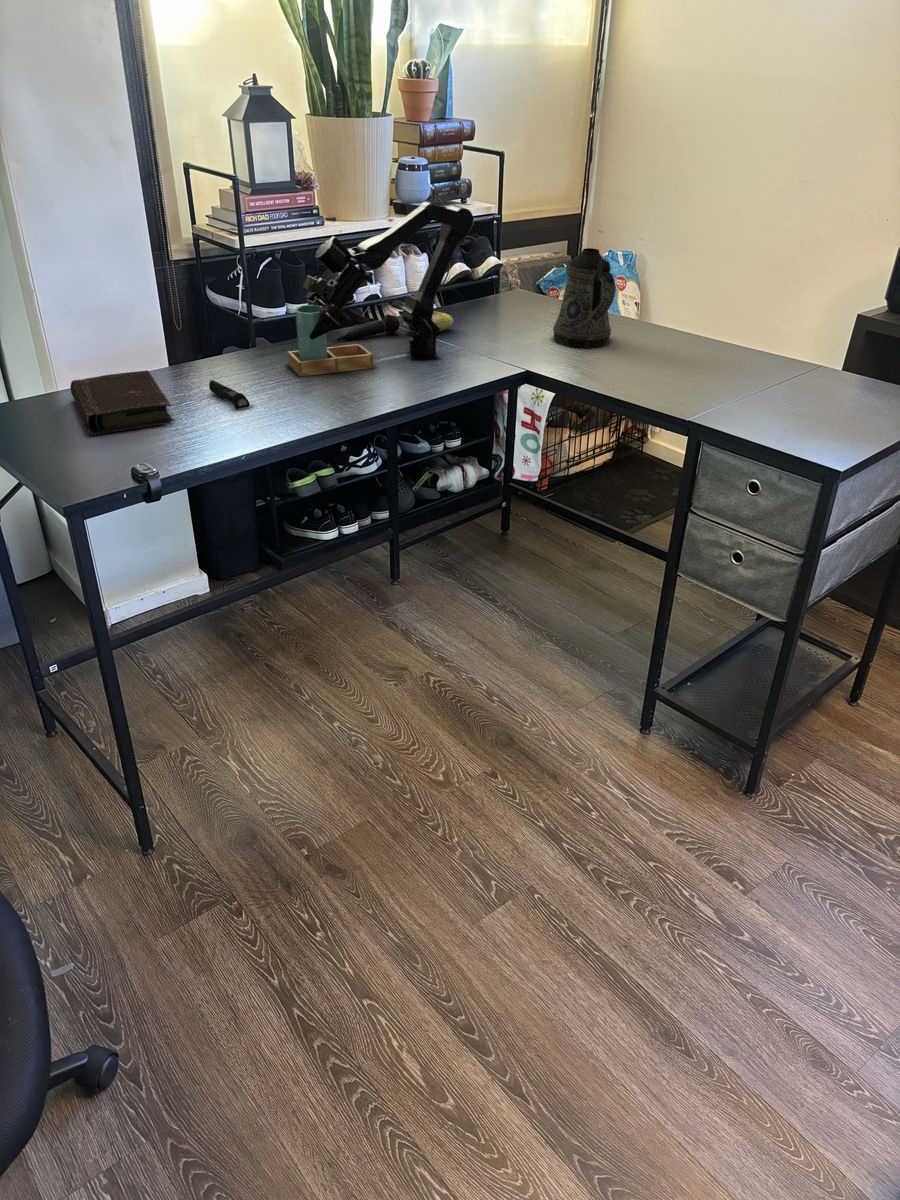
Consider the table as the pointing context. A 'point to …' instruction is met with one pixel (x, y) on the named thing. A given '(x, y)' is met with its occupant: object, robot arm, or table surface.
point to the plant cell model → (439, 320)
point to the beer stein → (586, 302)
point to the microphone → (374, 328)
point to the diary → (120, 402)
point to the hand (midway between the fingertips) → (306, 334)
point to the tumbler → (305, 324)
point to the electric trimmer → (229, 395)
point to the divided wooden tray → (333, 361)
